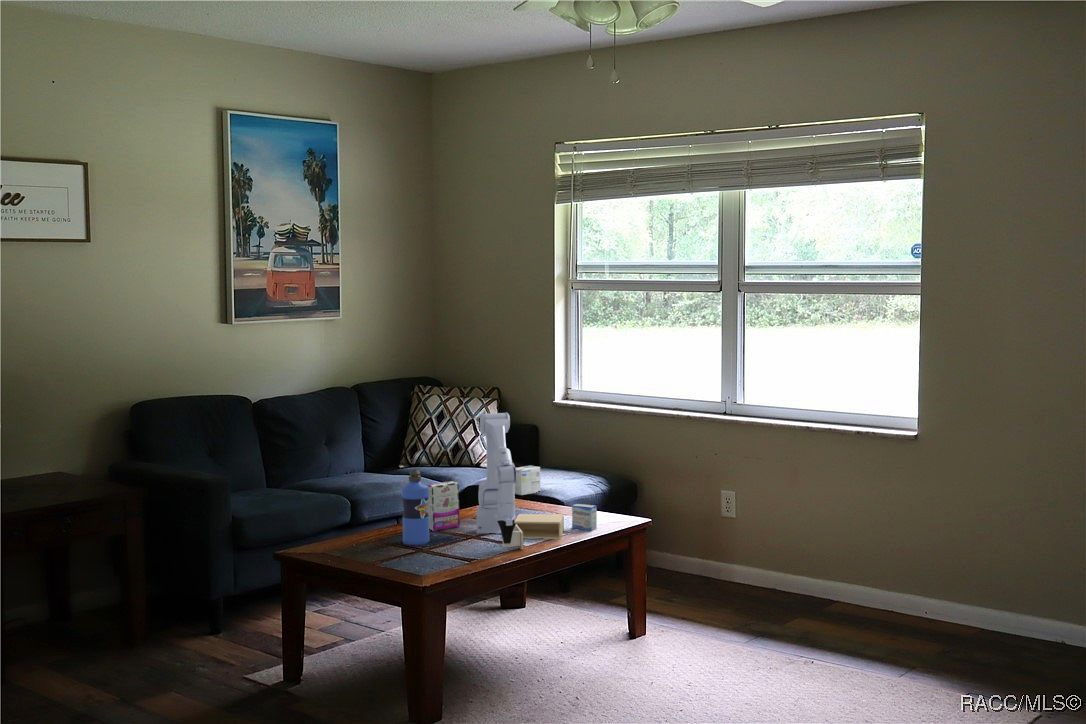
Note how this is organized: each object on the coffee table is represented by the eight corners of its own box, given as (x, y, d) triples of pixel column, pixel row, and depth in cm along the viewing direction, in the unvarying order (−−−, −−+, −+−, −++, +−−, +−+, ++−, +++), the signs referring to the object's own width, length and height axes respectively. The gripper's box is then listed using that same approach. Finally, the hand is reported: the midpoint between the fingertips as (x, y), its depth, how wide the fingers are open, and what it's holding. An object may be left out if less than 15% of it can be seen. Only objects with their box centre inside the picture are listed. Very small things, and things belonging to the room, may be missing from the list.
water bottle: (435, 540, 367) (434, 468, 365) (417, 546, 359) (416, 473, 357) (414, 537, 372) (413, 466, 370) (396, 543, 364) (395, 470, 363)
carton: (514, 538, 369) (514, 521, 368) (519, 530, 381) (518, 514, 380) (560, 539, 367) (560, 522, 366) (563, 531, 379) (563, 514, 378)
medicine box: (571, 529, 382) (571, 505, 381) (577, 526, 386) (576, 503, 385) (591, 531, 378) (591, 507, 377) (597, 528, 382) (596, 505, 381)
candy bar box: (452, 524, 391) (452, 480, 390) (460, 527, 387) (459, 482, 386) (426, 529, 385) (425, 484, 383) (433, 531, 381) (432, 486, 379)
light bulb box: (531, 489, 457) (530, 464, 456) (541, 492, 451) (540, 466, 451) (511, 493, 450) (511, 467, 449) (521, 495, 445) (521, 469, 444)
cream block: (496, 539, 367) (495, 522, 366) (515, 538, 368) (514, 521, 368) (503, 550, 351) (503, 533, 351) (523, 549, 352) (523, 532, 352)
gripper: (491, 498, 358) (492, 538, 359) (496, 506, 344) (497, 548, 345) (512, 497, 360) (512, 537, 361) (518, 505, 345) (519, 547, 346)
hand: (506, 542), depth 353 cm, fingers closed
